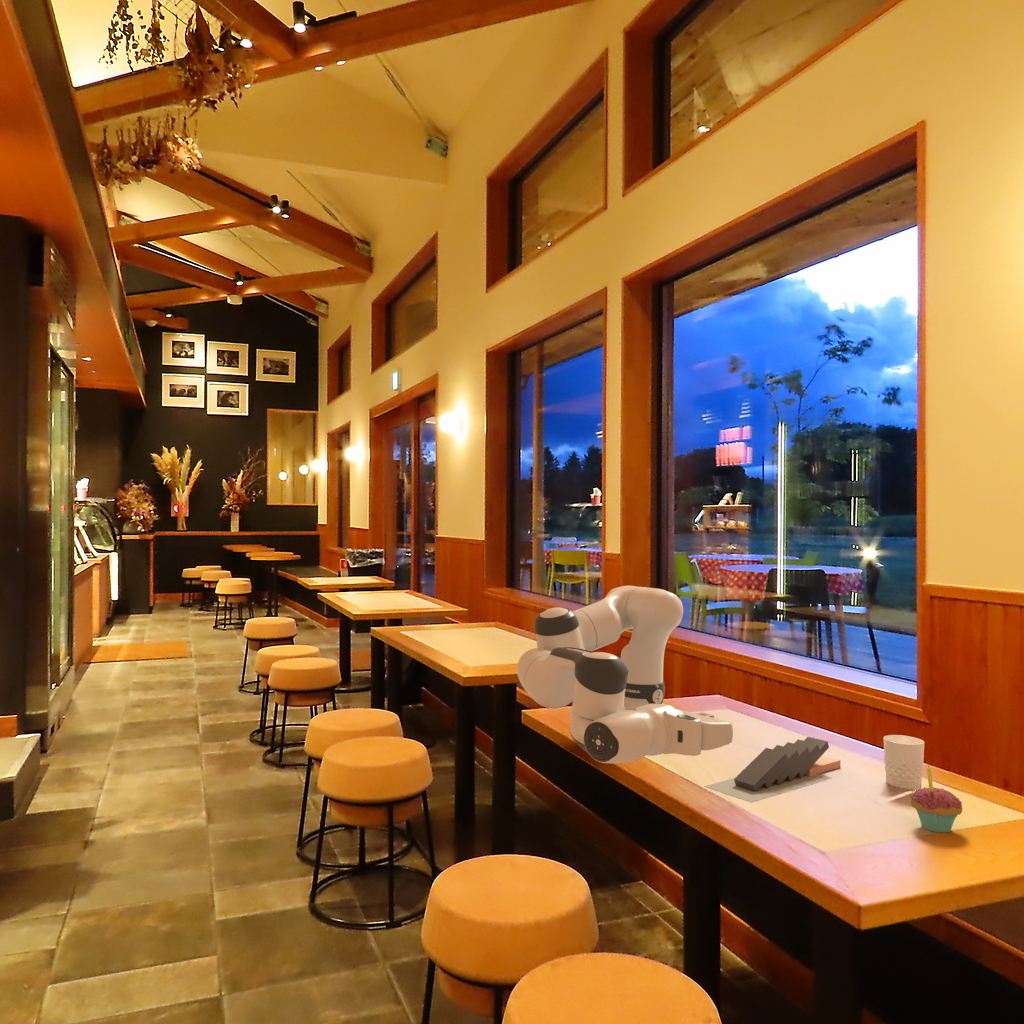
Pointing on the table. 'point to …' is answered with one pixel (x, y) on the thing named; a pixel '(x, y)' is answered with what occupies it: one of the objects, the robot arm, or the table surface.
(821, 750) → the domino
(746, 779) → the domino
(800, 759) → the domino
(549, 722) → the table surface
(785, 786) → the felt strip
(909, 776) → the white cup
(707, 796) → the table surface
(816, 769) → the domino
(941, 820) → the cupcake
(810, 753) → the domino
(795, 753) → the domino
